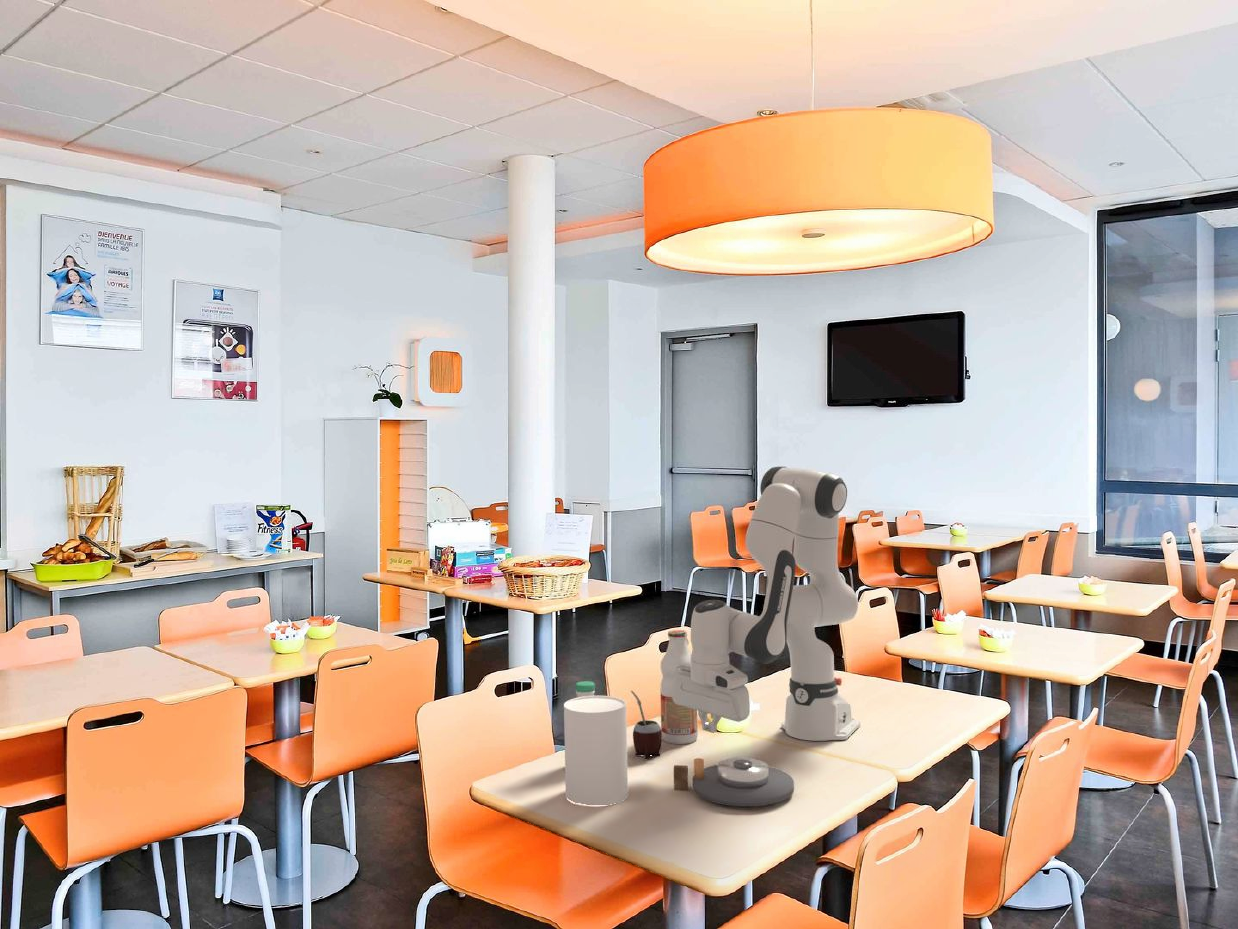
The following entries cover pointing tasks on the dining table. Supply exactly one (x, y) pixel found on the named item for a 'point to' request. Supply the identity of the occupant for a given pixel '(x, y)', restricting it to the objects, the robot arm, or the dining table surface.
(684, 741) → the fruit juice
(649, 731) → the mate gourd
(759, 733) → the dining table surface
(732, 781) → the cover
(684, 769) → the brown wooden block
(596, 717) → the canister
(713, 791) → the turntable
